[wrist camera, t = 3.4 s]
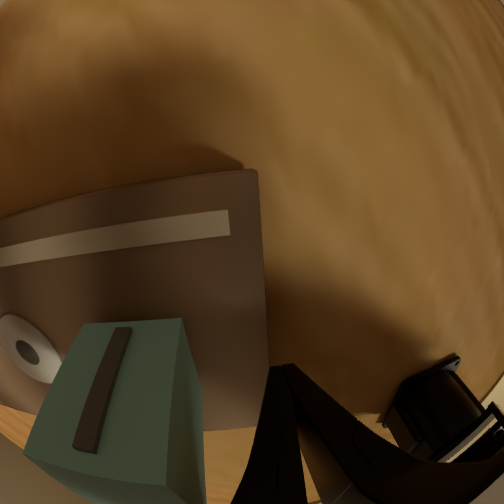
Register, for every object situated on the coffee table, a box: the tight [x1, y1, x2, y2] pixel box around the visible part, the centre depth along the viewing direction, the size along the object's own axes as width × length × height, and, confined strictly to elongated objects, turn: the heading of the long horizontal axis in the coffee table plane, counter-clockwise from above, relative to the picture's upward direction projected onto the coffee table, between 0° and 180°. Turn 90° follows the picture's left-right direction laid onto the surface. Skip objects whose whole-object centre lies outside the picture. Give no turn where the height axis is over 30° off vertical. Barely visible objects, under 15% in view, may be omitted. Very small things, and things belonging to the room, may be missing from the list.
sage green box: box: [23, 318, 207, 504], centre depth 7 cm, size 4×4×6 cm
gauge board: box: [0, 169, 269, 431], centre depth 8 cm, size 24×13×5 cm, turn 93°
